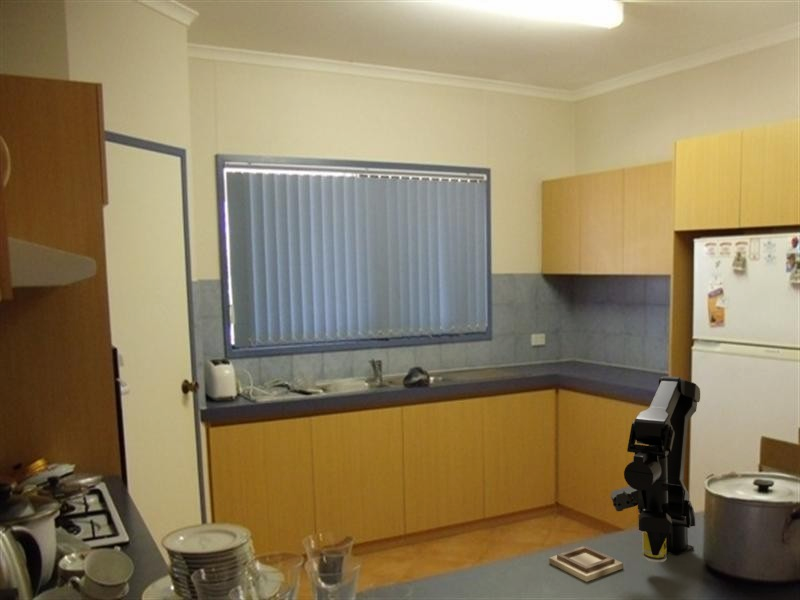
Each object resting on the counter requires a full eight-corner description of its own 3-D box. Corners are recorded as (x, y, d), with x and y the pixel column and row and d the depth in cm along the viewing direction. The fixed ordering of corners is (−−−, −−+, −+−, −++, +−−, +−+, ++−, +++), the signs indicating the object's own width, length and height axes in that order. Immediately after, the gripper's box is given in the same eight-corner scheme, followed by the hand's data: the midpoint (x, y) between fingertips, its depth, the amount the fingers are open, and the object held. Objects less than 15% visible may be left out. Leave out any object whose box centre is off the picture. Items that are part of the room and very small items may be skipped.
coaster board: (584, 551, 151) (584, 542, 150) (622, 568, 141) (622, 559, 141) (549, 563, 145) (548, 554, 145) (586, 581, 135) (586, 572, 135)
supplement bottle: (668, 563, 135) (668, 523, 135) (644, 562, 136) (643, 522, 136) (664, 553, 140) (663, 514, 139) (641, 552, 141) (640, 514, 140)
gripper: (613, 462, 149) (615, 529, 149) (611, 488, 131) (613, 564, 132) (666, 465, 145) (667, 534, 146) (671, 492, 128) (673, 570, 128)
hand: (654, 550), depth 138 cm, fingers closed on supplement bottle, 5 cm apart
